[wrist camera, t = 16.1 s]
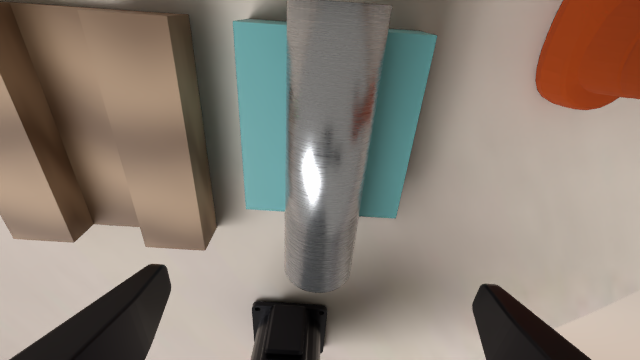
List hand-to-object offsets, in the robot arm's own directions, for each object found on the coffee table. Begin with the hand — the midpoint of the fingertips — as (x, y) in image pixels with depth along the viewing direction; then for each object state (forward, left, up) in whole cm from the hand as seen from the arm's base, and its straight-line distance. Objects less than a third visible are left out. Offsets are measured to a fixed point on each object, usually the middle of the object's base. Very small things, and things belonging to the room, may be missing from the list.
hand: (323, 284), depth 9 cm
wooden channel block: (-1, +14, -12) cm, 18 cm away
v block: (+1, 0, -12) cm, 12 cm away
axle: (0, 0, -8) cm, 8 cm away
